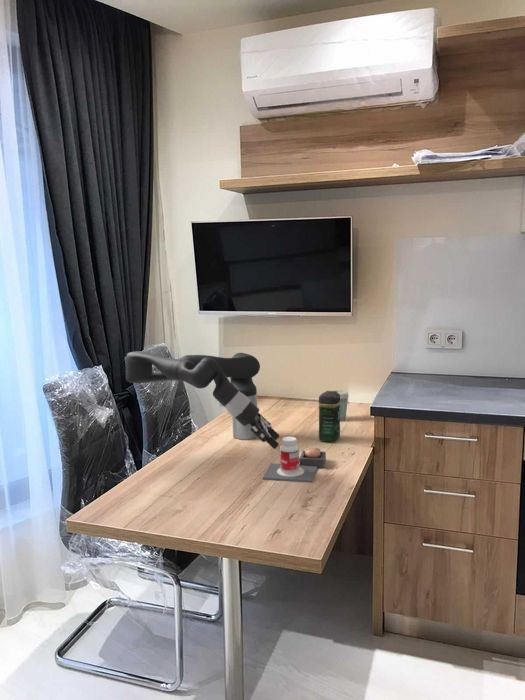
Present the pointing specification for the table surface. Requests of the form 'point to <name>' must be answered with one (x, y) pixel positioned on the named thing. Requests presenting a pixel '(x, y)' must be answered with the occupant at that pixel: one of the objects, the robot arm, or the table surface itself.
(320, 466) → the button housing
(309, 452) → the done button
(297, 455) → the pill bottle
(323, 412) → the coffee jar
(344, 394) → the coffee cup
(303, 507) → the table surface
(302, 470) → the grey rectangular pad
